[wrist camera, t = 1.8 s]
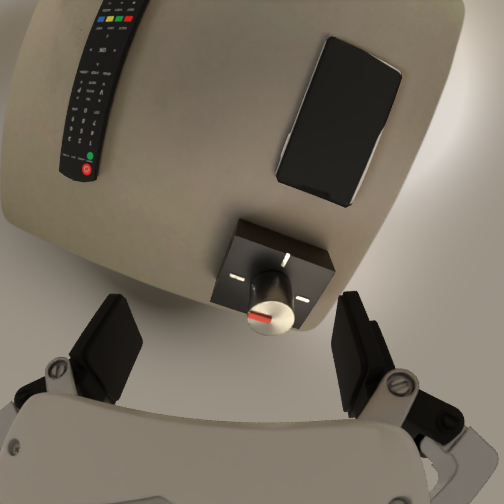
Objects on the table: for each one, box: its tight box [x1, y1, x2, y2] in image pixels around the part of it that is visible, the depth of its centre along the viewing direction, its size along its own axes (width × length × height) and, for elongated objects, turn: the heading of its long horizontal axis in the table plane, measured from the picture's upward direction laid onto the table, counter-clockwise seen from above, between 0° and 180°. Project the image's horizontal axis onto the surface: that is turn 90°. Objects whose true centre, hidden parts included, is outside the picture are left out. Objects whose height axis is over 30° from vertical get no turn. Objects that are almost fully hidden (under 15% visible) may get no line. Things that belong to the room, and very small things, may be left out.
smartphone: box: [275, 36, 402, 208], centre depth 22 cm, size 8×1×15 cm
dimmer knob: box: [247, 271, 295, 336], centre depth 24 cm, size 4×4×5 cm
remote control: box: [59, 0, 148, 182], centre depth 20 cm, size 5×24×1 cm, turn 161°
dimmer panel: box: [210, 219, 336, 329], centre depth 28 cm, size 10×8×4 cm
